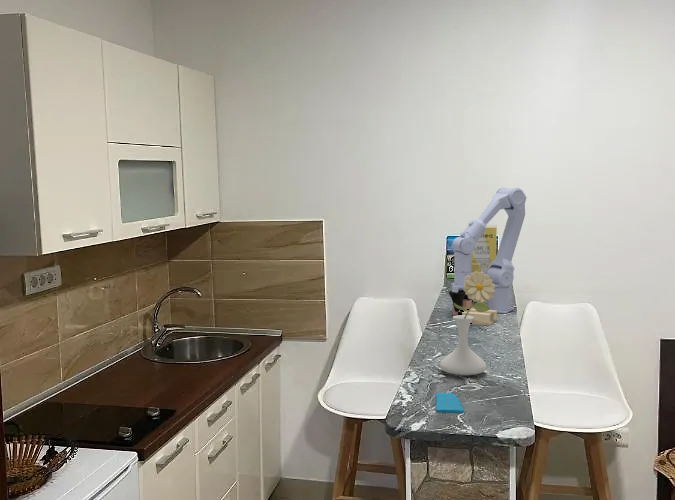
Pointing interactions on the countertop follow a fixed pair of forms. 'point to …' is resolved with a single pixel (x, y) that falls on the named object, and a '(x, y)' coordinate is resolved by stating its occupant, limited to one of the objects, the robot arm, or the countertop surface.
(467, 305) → the terracotta cube
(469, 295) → the flower in vase
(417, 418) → the countertop surface
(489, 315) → the birch base
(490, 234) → the pasta box
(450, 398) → the sponge
